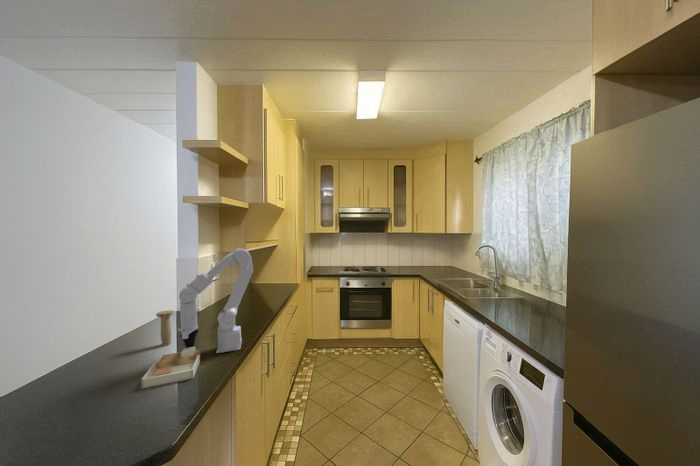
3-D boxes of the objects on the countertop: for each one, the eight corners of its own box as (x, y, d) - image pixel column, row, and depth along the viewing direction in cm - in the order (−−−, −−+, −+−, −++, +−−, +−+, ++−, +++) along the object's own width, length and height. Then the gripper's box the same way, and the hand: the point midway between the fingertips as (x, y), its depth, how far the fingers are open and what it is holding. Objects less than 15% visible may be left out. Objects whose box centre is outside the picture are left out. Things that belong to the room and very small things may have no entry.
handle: (171, 346, 118) (169, 313, 117) (155, 347, 117) (154, 314, 116) (176, 341, 122) (175, 310, 122) (161, 342, 121) (160, 311, 121)
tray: (200, 362, 102) (199, 354, 102) (193, 378, 91) (192, 370, 91) (154, 370, 97) (154, 362, 97) (141, 388, 86) (140, 380, 86)
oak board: (200, 354, 108) (200, 348, 108) (197, 362, 102) (196, 356, 102) (163, 361, 104) (163, 355, 104) (157, 369, 97) (157, 363, 97)
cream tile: (195, 351, 106) (195, 346, 106) (193, 355, 103) (193, 350, 102) (184, 353, 105) (183, 348, 105) (181, 357, 101) (181, 352, 101)
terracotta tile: (169, 371, 91) (169, 377, 92) (171, 366, 95) (171, 371, 95) (155, 374, 90) (155, 380, 90) (158, 368, 93) (158, 374, 93)
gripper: (182, 312, 112) (183, 344, 112) (171, 324, 98) (173, 359, 98) (200, 310, 114) (202, 341, 114) (193, 321, 100) (194, 356, 101)
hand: (190, 349), depth 107 cm, fingers closed
